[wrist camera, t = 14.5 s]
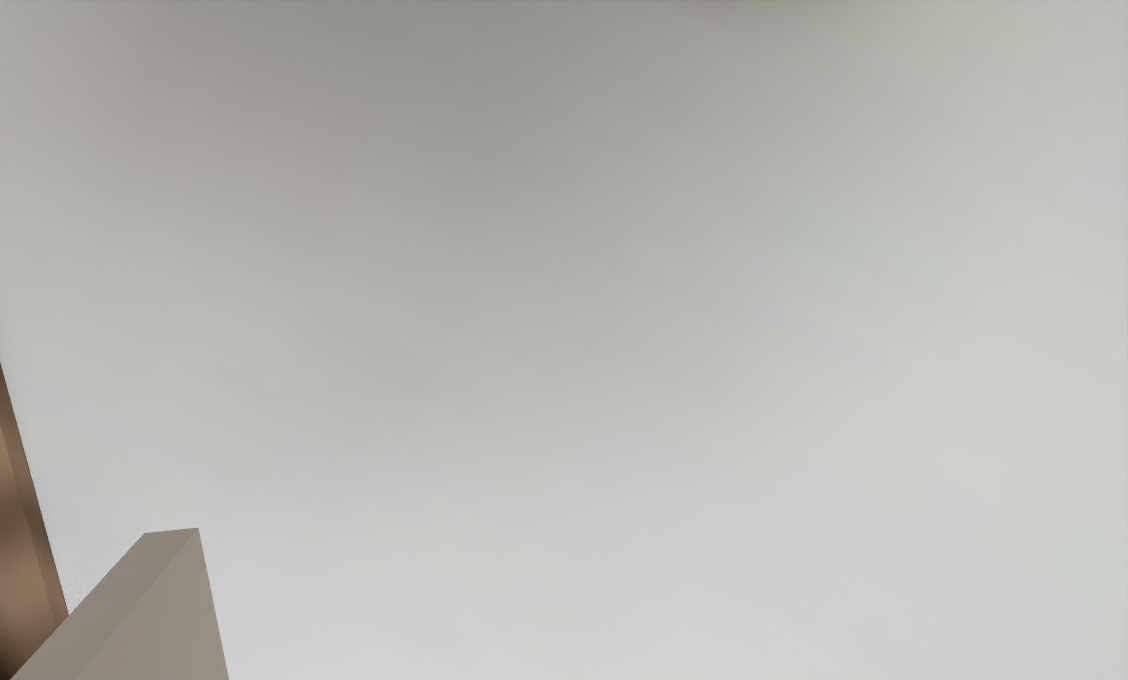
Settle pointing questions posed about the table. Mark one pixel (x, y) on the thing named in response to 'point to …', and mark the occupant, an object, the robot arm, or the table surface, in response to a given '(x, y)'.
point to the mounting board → (22, 556)
